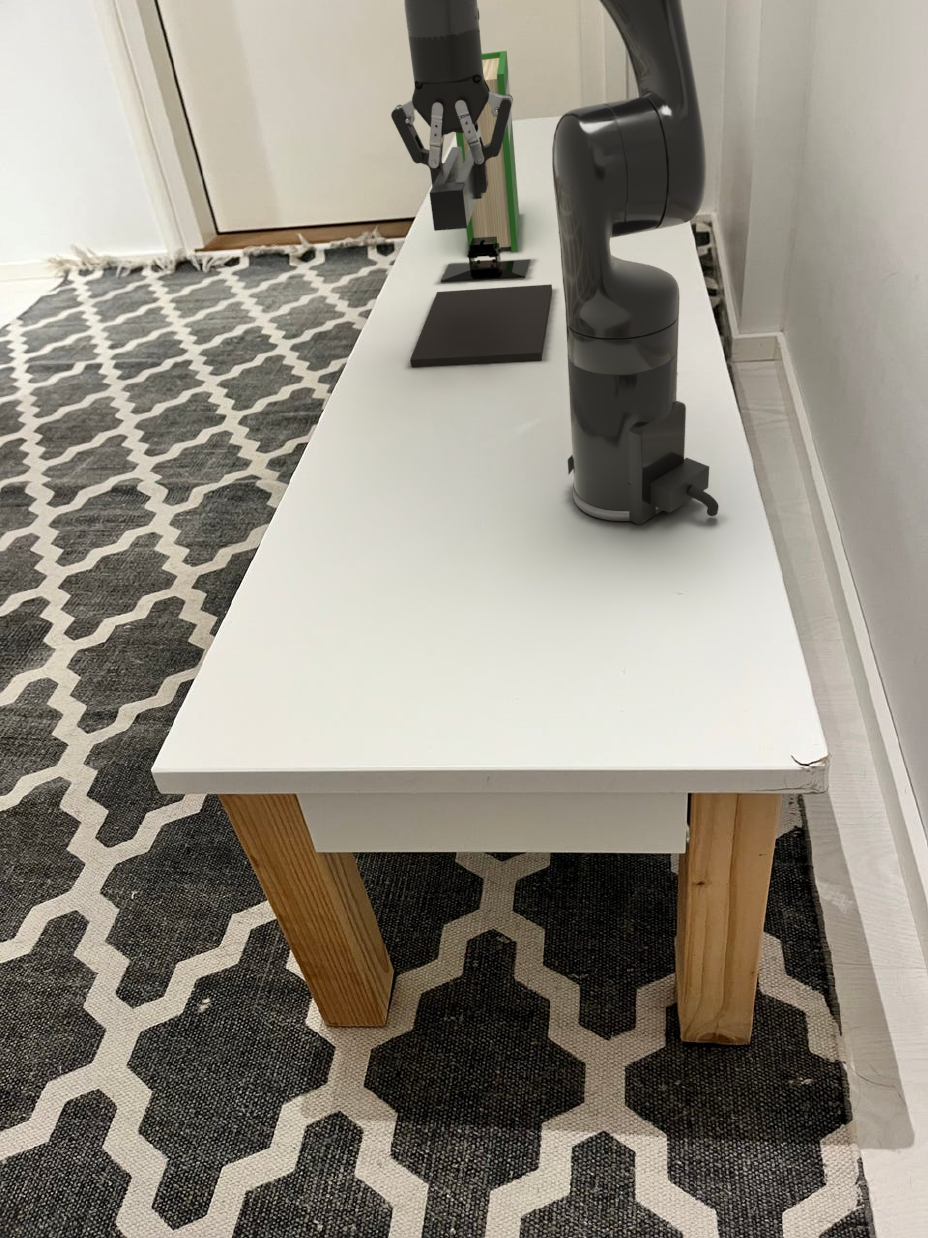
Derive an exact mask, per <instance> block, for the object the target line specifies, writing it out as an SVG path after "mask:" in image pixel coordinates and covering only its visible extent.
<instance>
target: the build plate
mask: <svg viewBox="0 0 928 1238" xmlns="http://www.w3.org/2000/svg"><path fill="white" fill-rule="evenodd" d="M501 252H502V247H500V246H499V243H497V237H479V238H472V240H471V242H470V244H469V249H468V251H467V255H466V256H467V257H466V258H468V262H457V263H456V262H455V263H449V264H448V265H447V267H446V268H445V271H444V273H442V277H441V278H440V283H441V284H450V283H467V282H469V283H470V282H483V281H484V282H486V281H487V282H489V281H506V280H524V279H526V278H527V275H528V271H529V268H530V265H531V262H532V259H531V258H528V259H510V260H502V259H501ZM479 257H480V258H481V257H488V258H493V259H487V260H486V259H485V260H481V259H477V258H479ZM475 259H477V260H475Z"/></svg>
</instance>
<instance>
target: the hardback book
mask: <svg viewBox="0 0 928 1238" xmlns="http://www.w3.org/2000/svg"><path fill="white" fill-rule="evenodd" d="M482 63H483V74H484V79H485V82H486V84H487V85H488V87H489V89H490V92H493V93H496V94H500V95H503V96H504V95H506V94H509V95H511V89H510V76H509V75H510V74H509V63H508V51H507V50H502V51H501V50H500V51H492V52H484V53H482ZM491 109H492V108H491V105H490V104H489V103H488V102H487V103H486V105H485V107H484V109H483V111H482V113H481V115H480V117H479V119H478V120H477V121H478V124H479V127H480V130H481V136H482V140H483V143H484V146H485V145H487V144H489V143H491V139H492V135H493V131H494V127H495V123H496V119H497V117H494V116H493V115H492V113H491ZM513 128H514V127H513V115H512V110H511V111H510V115H509V119H508V123H507V127H506V131H505V134H504V138H503V142H502V146H501V149H500V152H499V154H498V156H496V157H492V158H490V159H488V160H487V161H486V166H487V177H488V187H487V190H486V193H483V197H482V199H477V202H476V205H475V207H474V210H473V213H472V216H471V218H470V221H469V223H468V226H467V228H465V230H466V238H467V239H466V240H467V247H468V248H467V249H468V250H469V244H470V242H471V240H472V238H479V237H497V243H499V246H500V248H509V247H510V248H511V253H517V252H519V251H518V250H519V235H520V231H519V230H520V207H519V193H518V182H517V181H518V180H517V167H516V154H515V142H514V130H513ZM455 141H456V147H462V156H463V164H464V162H465V159H466V157H467V155H468V153H469V150H470V147H469V145H468V143H467V141H466V138H465V135H464V133H457V132H455Z"/></svg>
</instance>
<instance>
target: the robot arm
mask: <svg viewBox="0 0 928 1238" xmlns="http://www.w3.org/2000/svg"><path fill="white" fill-rule="evenodd" d="M403 1H404V13H405V21H406V22H405V23H406V28H407V36H408V46H409V51H410V61H411V69H412V75H413V83H414V90H413V93H412V96H411V100H409V101H407V102H405V103H403V104H397V105H396V106H395V107H394V109H393V110H392V111H391V114H390V116H391V120H392V122H393V124H394V125H395V127H396V130H397V132H398V134H399V137H400V138H401V139H402V142H403V144H404V145H405V147H406V150H407V152H408V154H409V155H410V157H411V159H412V161H413V163H415V164H418V165H419V164H423V165H426V166H427V167H428V168H429V172H430V179H431V188H432V187H433V185H434V183H435V181H436V179H437V177H438V175H439V173H440V171H441V169H442V167H443V165H444V162H443V153H444V152H443V151H444V142H445V136H446V135H449V134H452V133H456V132H457V133H464V135H465V138H466V141H467V143H468V145H469V147H470V150H471V154H472V157H473V160H474V163H473V165H472V166H473V175H474V185H475V195H476V199H482V197H483V193H486V190H487V187H488V177H487V166H486V161H487V160H488V159H490V158H492V157H496V156H498V154H499V152H500V149H501V146H502V142H503V138H504V134H505V131H506V127H507V123H508V119H509V115H510V111H511V112H512V107H513V103H514V98H513V96H512V94H510V95H509V94H506V95H504V96H503V95H500V94H496V93H493V92H490V89H489V87H488V85H487V84H486V82H485V79H484V74H483V63H482V54H483V51H482V41H481V30H480V10H479V7H478V0H403ZM598 2H599V3H600V4H601V5H602V7H603V8H604V10H605V11H606V12H607V14H608V16H609V17H610V19H611V21H612V22H613V24H614V26H615V28H616V30H617V32H618V34H619V36H620V38H621V40H622V43H623V45H624V47H625V50H626V53H627V56H628V59H629V62H630V65H631V69H632V72H633V76H634V77H633V78H634V79H635V80H634V81H635V85H636V91H637V95H638V96H637V97H632V98H627V99H626V98H625V99H621V100H620V99H619V100H615V101H610V102H603V103H597V104H593V105H585V106H582V107H578V108H574V109H570V110H568V111H566V112H565V113H563V114H562V116H561V117H560V118H559V119H558V122H557V124H556V125H555V130H554V133H553V140H552V146H551V147H552V148H551V150H552V151H551V154H552V155H551V156H552V157H551V160H552V161H551V162H552V164H551V165H552V179H553V191H554V199H555V209H556V217H557V226H558V236H559V247H560V263H561V265H560V266H561V275H562V276H561V278H562V286H563V288H562V289H563V297H564V306H565V307H564V309H565V327H566V328H565V330H566V347H567V349H566V350H567V351H566V352H567V373H568V393H569V411H570V412H569V413H570V414H569V415H570V432H571V436H570V437H571V452H572V453H571V455H570V456H569V457H568V459H567V470H568V471H567V472H568V473H567V475H568V476H569V475H570V474H571V472H572V471H573V483H572V493H573V494H572V495H573V500H574V503H575V504H576V506H577V507H578V508H579V509H580V510H581V511H583V512H584V513H586V514H587V515H589V516H592V517H595V518H597V519H601V520H605V521H613V522H631V523H634V524H636V525H642V524H644V523H645V522H647V521H649V520H650V519H652V518H653V517H654V516H656V515H658V514H660V513H661V512H663V511H664V512H666V513H669V514H670V513H672V512H674V511H676V509H678V508H680V507H682V506H683V505H684V504H686V503H688V502H689V501H690V500H692V499H695V500H696V501H698V502H700V503H701V504H703V505H704V506H705V507H706V508H707V509H706V514H707V515H708V516H709V517H715V516H717V515H718V512H719V508H720V506H719V503H718V501H716V499H715V498H714V497H713V496H712V495H711V494H709V493H708V492H706V491H705V490H707V489H709V481H710V479H709V477H710V466H709V465H706V464H704V463H701V462H699V461H697V460H694V459H691V458H688V457H685V453H686V452H685V448H686V423H687V421H686V419H687V406H686V404H685V402H681V401H679V400H677V396H678V394H677V392H678V390H677V389H678V360H679V359H678V356H679V355H678V353H679V328H680V327H679V326H680V325H679V324H680V323H679V322H680V321H679V320H680V288H679V284H678V281H677V279H676V278H675V277H674V276H673V275H672V274H671V273H669V272H668V271H667V270H664V269H662V268H659V267H657V266H654V265H650V264H645V263H642V262H637V261H631V260H625V259H622V258H619V257H616V256H614V255H612V253H611V245H610V243H611V242H610V241H611V239H613V238H617V237H618V238H619V237H623V236H628V235H634V234H638V233H639V234H640V233H645V232H650V231H655V230H660V229H665V228H671V227H675V226H679V225H683V224H687V223H688V222H690V221H692V220H693V219H694V218H695V217H696V216H697V214H698V213H699V211H700V209H701V206H702V205H703V201H704V196H705V191H706V185H707V184H706V183H707V154H706V153H707V152H706V143H705V135H704V134H705V133H704V127H703V119H702V112H701V107H700V101H699V96H698V89H697V82H696V77H695V72H694V67H693V61H692V55H691V50H690V44H689V38H688V32H687V26H686V21H685V16H684V15H685V14H684V9H683V3H682V0H598ZM487 102H488V103H489V104H490V105H491V108H492V109H491V113H492V115H493V116H494V117H497V119H496V123H495V127H494V131H493V135H492V139H491V143H489V144H487V145H485V146H484V143H483V140H482V136H481V130H480V127H479V124H478V121H477V120H478V119H479V117H480V115H481V113H482V111H483V109H484V107H485V105H486V103H487ZM415 111H416V112H417V113H418V114H419V115H420V117H421V118H422V119H423V120H424V121H425V123H426V125H428V126H429V128H430V132H429V143H428V144H429V149H427V148H425V146H424V144H423V141H422V139H421V138H420V136H419V134H418V132H417V129H416V127H415V126H414V122H415V121H416V116H415V115H416V114H415Z"/></svg>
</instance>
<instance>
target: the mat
mask: <svg viewBox="0 0 928 1238" xmlns="http://www.w3.org/2000/svg"><path fill="white" fill-rule="evenodd" d="M552 295H553V284H552V283H551V284H550V283H549V284H536V285H523V286H522V285H521V286H507V287H491V288H489V287H488V288H476V289H463V290H461V289H459V290H449V291H448V290H446V291H445V290H444V291H437V292H436V294H435V295H434V299H433V302H432V304H431V305H430V308H429V311H428V314H427V316H426V318H425V321H424V324H423V326H422V329H421V331H420V334H419V336H418V339H417V341H416V344H415V347H414V348H413V352H412V354H411V357H410V360H409V361H410V367H411V368H420V367H439V366H457V365H476V364H477V365H478V364H494V363H495V364H496V363H513V362H533V361H534V362H535V361H542V359H543V353H544V346H545V341H546V334H547V327H548V321H549V315H550V307H551V302H552Z"/></svg>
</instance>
